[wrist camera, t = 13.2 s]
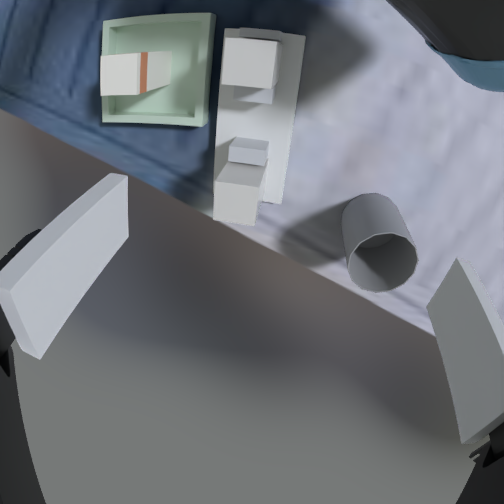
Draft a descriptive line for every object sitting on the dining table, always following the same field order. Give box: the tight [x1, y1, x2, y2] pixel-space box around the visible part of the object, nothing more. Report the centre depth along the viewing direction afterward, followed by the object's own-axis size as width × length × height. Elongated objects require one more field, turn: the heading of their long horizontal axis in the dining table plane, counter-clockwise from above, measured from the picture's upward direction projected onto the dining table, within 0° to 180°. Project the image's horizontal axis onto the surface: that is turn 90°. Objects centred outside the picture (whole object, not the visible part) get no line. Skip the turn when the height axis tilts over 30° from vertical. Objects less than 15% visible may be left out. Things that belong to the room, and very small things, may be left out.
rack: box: [213, 27, 306, 204], centre depth 35 cm, size 21×9×6 cm, turn 174°
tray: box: [102, 13, 217, 127], centre depth 34 cm, size 14×14×2 cm
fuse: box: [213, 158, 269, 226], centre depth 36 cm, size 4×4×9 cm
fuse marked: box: [100, 51, 172, 96], centre depth 30 cm, size 4×4×9 cm
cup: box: [341, 193, 419, 293], centre depth 38 cm, size 8×8×10 cm
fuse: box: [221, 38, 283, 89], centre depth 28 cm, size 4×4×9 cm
